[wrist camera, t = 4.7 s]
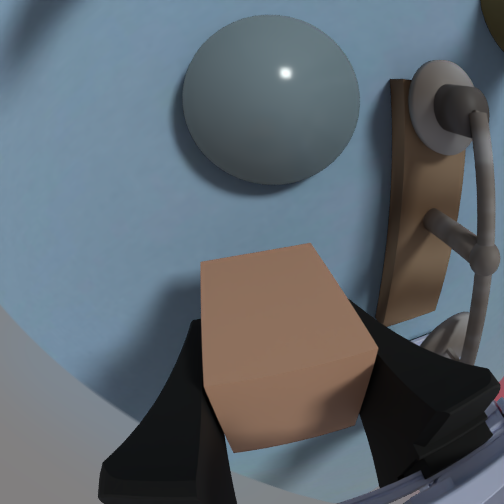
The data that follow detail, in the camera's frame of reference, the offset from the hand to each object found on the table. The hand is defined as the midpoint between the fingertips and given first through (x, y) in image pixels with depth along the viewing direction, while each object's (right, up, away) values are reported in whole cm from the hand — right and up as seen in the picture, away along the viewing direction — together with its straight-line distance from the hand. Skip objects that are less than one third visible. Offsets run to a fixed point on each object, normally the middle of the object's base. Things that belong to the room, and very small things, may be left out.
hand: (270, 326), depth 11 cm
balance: (+10, +5, +5) cm, 12 cm away
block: (0, +1, +2) cm, 2 cm away
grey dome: (0, +10, +1) cm, 10 cm away
